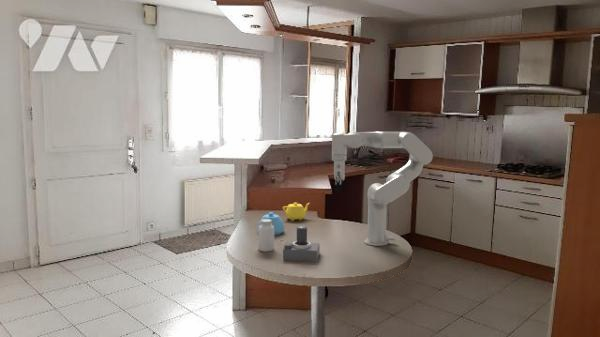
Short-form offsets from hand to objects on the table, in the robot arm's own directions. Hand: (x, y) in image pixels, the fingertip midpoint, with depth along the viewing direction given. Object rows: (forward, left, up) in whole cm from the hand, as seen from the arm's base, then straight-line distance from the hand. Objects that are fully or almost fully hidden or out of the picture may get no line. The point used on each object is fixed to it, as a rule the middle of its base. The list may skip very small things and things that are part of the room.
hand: (338, 190), depth 239 cm
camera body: (+16, +23, -28) cm, 40 cm away
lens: (+16, +23, -23) cm, 36 cm away
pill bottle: (+35, +15, -28) cm, 48 cm away
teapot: (+29, -48, -29) cm, 63 cm away
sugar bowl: (+39, -16, -29) cm, 51 cm away
